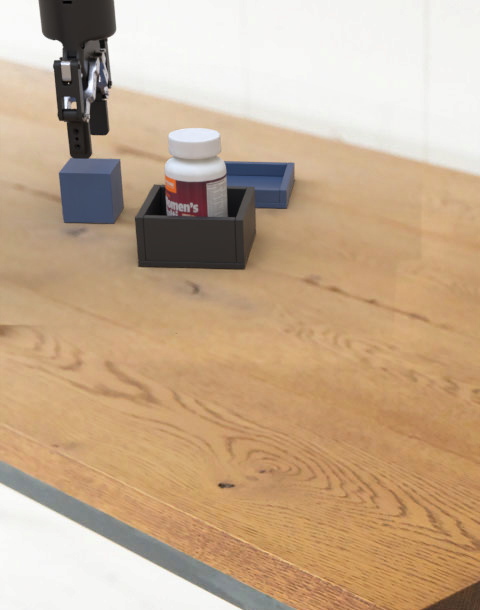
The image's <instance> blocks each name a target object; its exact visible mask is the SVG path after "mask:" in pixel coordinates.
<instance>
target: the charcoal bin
mask: <svg viewBox="0 0 480 610" xmlns="http://www.w3.org/2000/svg"><path fill="white" fill-rule="evenodd" d="M144 199H145V200H144V201H143V203H142V204H141V206H140V208H139V210H138V211H137V213H136V215H135V216H134V224H135V225H134V226H135V237H136V252H137V265H138V267H141V268H143V267H146V268H147V267H148V268H180V269H181V268H185V269H189V268H190V269H223V270H225V269H227V270H245V269H246V266H247V263H248V260H249V256H250V253H251V250H252V247H253V243H254V241H255V238H256V236H257V235H256V234H257V216H256V215H257V214H256V213H257V212H256V208H255V187H242V186H227V210H228V217H201V216H167V209H166V189H165V184H153V185H152V187H151V188H150V190H149V192H148V194H147V196H146V198H144Z"/></svg>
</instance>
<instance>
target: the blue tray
mask: <svg viewBox="0 0 480 610" xmlns="http://www.w3.org/2000/svg"><path fill="white" fill-rule="evenodd" d="M223 161H224V163H225V165H226V178H227V186H242V187H255V209H256V208H257V209H287V208H288V204H289V202H290V198H291V194H292V190H293V187H294V184H295V179H296V178H295V174H296V173H295V170H296V169H295V162H292V161H291V162H288V161H287V162H283V161H281V162H279V161H243V160H242V161H238V160H237V161H236V160H223Z"/></svg>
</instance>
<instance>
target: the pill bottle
mask: <svg viewBox="0 0 480 610" xmlns="http://www.w3.org/2000/svg"><path fill="white" fill-rule="evenodd" d="M167 140H168V154H169V155H170V156H172V157H169V159H168V160H167V161H166V162H165V164H164V185H165V189H166V209H167V216H201V217H228V210H227V178H226V165H225V163H224V161H225V160H223V159H222V158H221V157H220V156H219V155H220V154H221V153H222V141H221V133H220V132H219V131H217V130H215V129H211V128H204V127H189V128H188V127H187V128H181V129H180V128H179V129H176V130H173V131H171V132H169V133H168V136H167Z"/></svg>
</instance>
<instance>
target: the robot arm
mask: <svg viewBox="0 0 480 610" xmlns="http://www.w3.org/2000/svg"><path fill="white" fill-rule="evenodd" d="M38 8H39V18H40V28H41V33H42V35H43V36H44V38H46V39H48V40H51V41H57V42H59V43H61V45H62V49H61V52H62V55H61V56H60V57H59V58H58V59H54V60H53V64H52V68H53V69H52V70H53V74H54V85H55V97H56V109H57V113H56V114H57V119H58V121H59V122H64V123H66V130H67V140H68V148H69V149H68V150H69V151H68V152H69V156H70V158H74V159H88V158H91V157H92V156H93V146H92V144H93V143H92V136H103V137H104V136H107V135H108V134H109V133H110V120H109V119H110V118H109V109H108V100H109V97H110V91H109V90H111V89H112V87H113V80H112V73H111V64H110V55H109V54H110V53H109V45H108V43H109V42H108V41H109V38H111V37H113V36H115V34H116V32H117V19H116V7H115V0H38ZM73 103H75V105H76V108H72V105H73Z"/></svg>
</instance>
